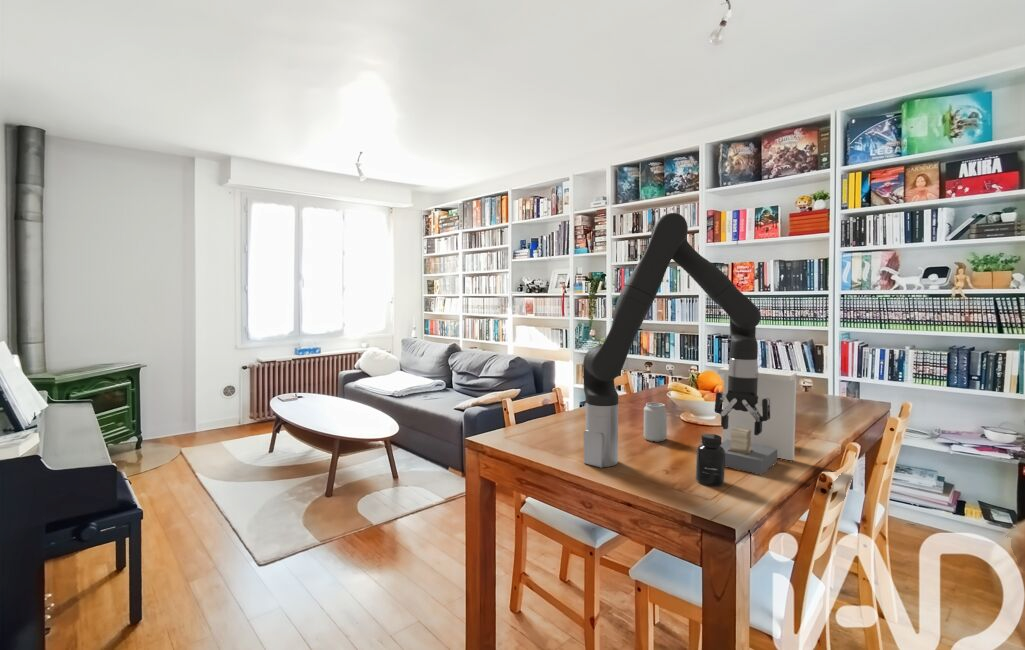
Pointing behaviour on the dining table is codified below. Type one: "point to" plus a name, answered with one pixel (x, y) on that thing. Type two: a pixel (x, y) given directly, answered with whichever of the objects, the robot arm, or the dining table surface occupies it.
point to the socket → (750, 458)
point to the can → (655, 422)
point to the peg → (741, 441)
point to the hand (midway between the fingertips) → (740, 431)
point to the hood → (782, 412)
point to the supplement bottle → (710, 461)
